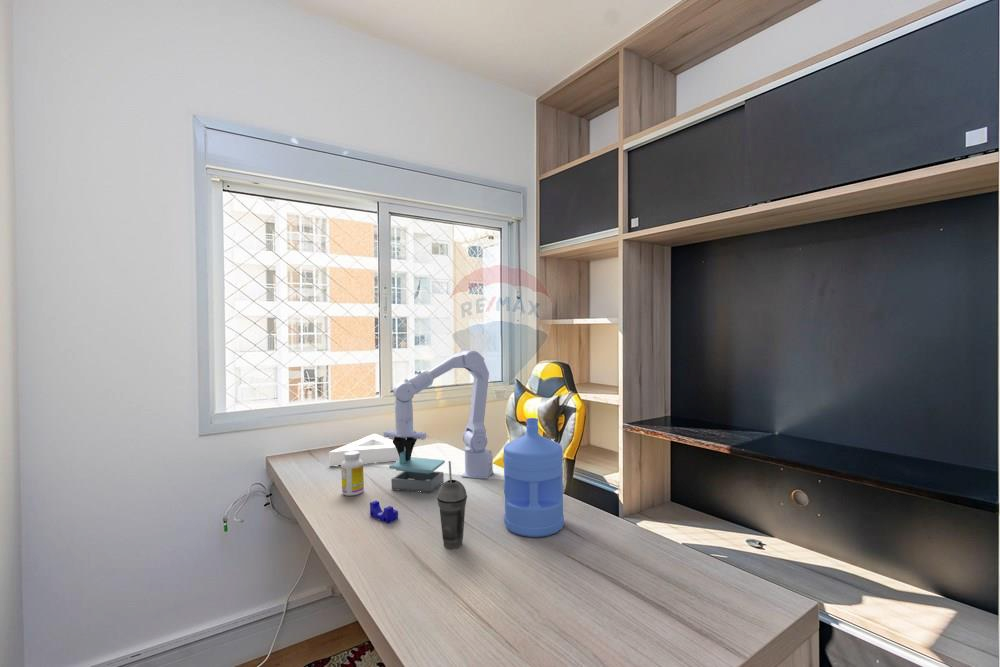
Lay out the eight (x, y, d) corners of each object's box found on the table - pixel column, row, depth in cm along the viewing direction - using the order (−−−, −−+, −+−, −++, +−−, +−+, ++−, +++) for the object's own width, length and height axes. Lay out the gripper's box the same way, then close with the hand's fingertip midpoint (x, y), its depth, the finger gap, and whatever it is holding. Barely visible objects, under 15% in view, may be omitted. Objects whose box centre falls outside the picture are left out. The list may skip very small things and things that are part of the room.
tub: (443, 482, 154) (443, 472, 154) (431, 493, 145) (431, 482, 145) (405, 479, 158) (405, 469, 158) (391, 489, 148) (391, 479, 148)
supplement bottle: (367, 489, 149) (366, 450, 149) (358, 496, 143) (357, 455, 143) (347, 488, 150) (346, 449, 150) (338, 496, 143) (337, 455, 143)
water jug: (505, 512, 129) (503, 413, 128) (561, 512, 128) (560, 413, 127) (502, 538, 113) (500, 426, 113) (566, 539, 112) (564, 425, 112)
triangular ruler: (329, 468, 174) (329, 452, 174) (339, 450, 199) (338, 435, 199) (409, 462, 180) (409, 446, 180) (409, 445, 205) (408, 431, 205)
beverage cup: (444, 554, 106) (442, 469, 105) (433, 541, 112) (431, 460, 112) (473, 547, 109) (471, 464, 109) (461, 534, 116) (459, 456, 115)
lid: (444, 465, 154) (444, 450, 154) (431, 476, 144) (431, 459, 144) (404, 461, 158) (404, 446, 158) (389, 471, 148) (389, 455, 148)
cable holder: (398, 519, 126) (397, 505, 126) (387, 524, 123) (387, 509, 123) (380, 512, 131) (380, 498, 131) (370, 516, 128) (369, 502, 128)
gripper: (378, 420, 150) (379, 461, 150) (418, 422, 146) (420, 464, 147) (389, 416, 157) (390, 455, 157) (428, 417, 153) (429, 458, 153)
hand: (405, 459), depth 152 cm, fingers closed on lid
